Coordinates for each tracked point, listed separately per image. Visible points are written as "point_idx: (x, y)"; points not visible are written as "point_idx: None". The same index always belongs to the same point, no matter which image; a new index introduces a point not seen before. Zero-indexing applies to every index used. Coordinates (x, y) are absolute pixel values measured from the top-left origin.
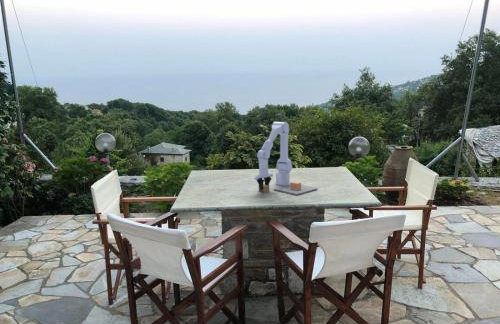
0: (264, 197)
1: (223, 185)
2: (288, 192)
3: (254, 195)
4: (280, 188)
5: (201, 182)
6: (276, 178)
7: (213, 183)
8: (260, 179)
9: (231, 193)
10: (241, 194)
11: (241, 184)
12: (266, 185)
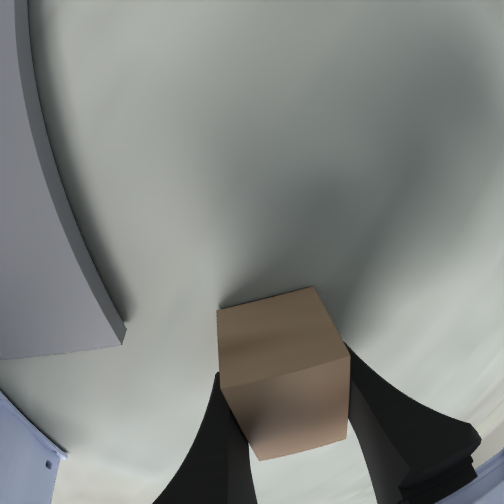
0: (456, 62)
1: (372, 485)
2: (18, 19)
3: (477, 226)
4: (29, 302)
5: None
6: (49, 487)
7: (372, 498)
8: (454, 471)
9: (492, 361)
10: (493, 316)
11: (290, 497)
12: (276, 396)
